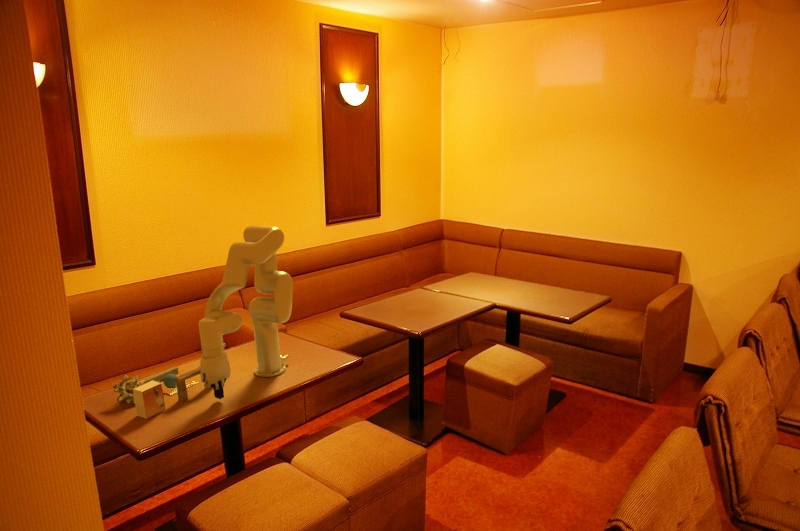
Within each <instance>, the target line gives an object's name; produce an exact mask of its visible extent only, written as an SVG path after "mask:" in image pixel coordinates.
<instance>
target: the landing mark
mask: <svg viewBox="0 0 800 531" xmlns="http://www.w3.org/2000/svg"><path fill="white" fill-rule="evenodd" d="M195 381H196V380H195ZM195 381H192V382H193V383H191V384H193V386H195V385H197V384H199V383H200V381H198V380H197V382H195ZM188 383H189V382H188ZM186 384H187V383H186ZM194 384H195V385H194ZM189 385H190V384H188V385H186V388H187V389H188V386H189ZM193 386H192V385H191V387H193ZM173 388H175V389H173V390H171V391H172V393H170V396H169V397H171V395H172V396H174V395H176V394H178V393H177V388H176V386H175V387H173ZM189 388H190V386H189ZM175 390H176V391H175ZM173 391H174V392H173ZM175 393H176V394H175ZM173 394H174V395H173Z"/></svg>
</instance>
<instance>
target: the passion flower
mask: <svg viewBox="0 0 800 531" xmlns="http://www.w3.org/2000/svg"><path fill="white" fill-rule="evenodd" d="M144 382H145V381H144V379H143V380H142V379H141V380H139V375H138V374H137V375H135V376H133V377H132V378H131V377H130V376H128V375H126V374H125V375H124V376H123V377H122V380H121V382H116V383H114V385H112V388H113V389H114V390H113V391H114V392H116V393H119V396H117V399H116V402H121V401H122V400H125V403H126V404H127V405H129V404H130V403H132V404H134V405H135V400H134V394H133V389H134V388H137V387H139V386H141V385H143V384H145V383H144Z"/></svg>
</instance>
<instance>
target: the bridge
mask: <svg viewBox="0 0 800 531" xmlns="http://www.w3.org/2000/svg"><path fill="white" fill-rule="evenodd" d="M198 375H201V374H200V366H198V367H196V368H194V369H191V370H189V371H187V372H185V373H182V374H181V375H177V376H178V377H175V380H176V387H177V393H176V394H177V397H178V398H177V399H178V401H179V402H182V403H184V402H188V401H189V396H188V390H187V389H188V388H186V381H185V380H187V379H191V378H193V377H195V376H198Z"/></svg>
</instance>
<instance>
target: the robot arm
mask: <svg viewBox="0 0 800 531" xmlns="http://www.w3.org/2000/svg"><path fill="white" fill-rule="evenodd" d="M242 233H243V234H242V235H243V240H244V241H238V242H237V241H236V242H234V243H232V244H231V245H230V247H229V249H228V252H227V253H228V254H227V258H226V262H225V268H224V272H223V278H222V280H221V282H220V283H219V284H218V285H217V286H216V287H215V288H214V290H213V291H212V292H211V294H210V295H209V297H208V300H207V302H206V306H205V310H204V316H203V318H201V319H200V320H199V321H198V331H199V338H200V346H201V347H200V348H201V353H202V356H201V357H200V362H199V367H200V374H199V375H200V381H201V383H203V387H204V388H205V389H211V388H212V389H213V396H214V398H216V399H218V400H222V399H224V398H225V394H224V393H225V392H224V387H225V383H226V381H227V380H228V379H230V377H231V367H230V366H231V365H230V361H229V357H228V354H227V351H226V350H225V348H226V346H227V345H226V343H225V342H224V337H223V335H228V334H231V333H234V332H237V331H238V330H240V328H241V327H242V325H243V317H242V315H240V314H239V313H238V312H235V311H229V310H223V309H222V307H223V305H224V302H225V301H226V299H227V298H228V297H229V296H230V295H232V294H233V293H234V292H237V291H239V290H241V289H243V288H245V287H246V285H247V280H248V275H249V270H250V266H254V281H253V283H254V289H255V291H256V292H258V293H261V294H266V295H274V296H273V297H269V296H256V297H254V298H252V299H251V301H250V302H249V304H248V314H249V318H250V320H251V325H252V328H253V336H254V338H253V339H254V346H255V354H256V363H257V364H256V365H257V366H256V367H255V368H254V371H253V372H254V375H256V376H258V377H262V378H270V377H276V376H279V375H281V374H283V373H284V372H285V371H286V370H287V368H286V367H287V366H286V364H284V363H285V361H288V360H289V359H290V355H289V354H285V355H284V356H283V355H281V349H280V348H281V347H280V337H279V329H278V328H279V327H278V325H277V324H285V323H286V322H288V320H290V318H291V315H292V309H293V294H294V292H293V291H294V283H293V278H292V276H291V275H290V273H288V272H286V271H283V270H282V271H281V270H278V256H277V253H276V252H278V251H279V249H281V248H282V246H283V243H284V242H285V233H284V232H283V230H282V229H280V228H279V227H277V226H263V225H251V226H250V225H249V226H247V227H246V228H244V230H243V232H242Z"/></svg>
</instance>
